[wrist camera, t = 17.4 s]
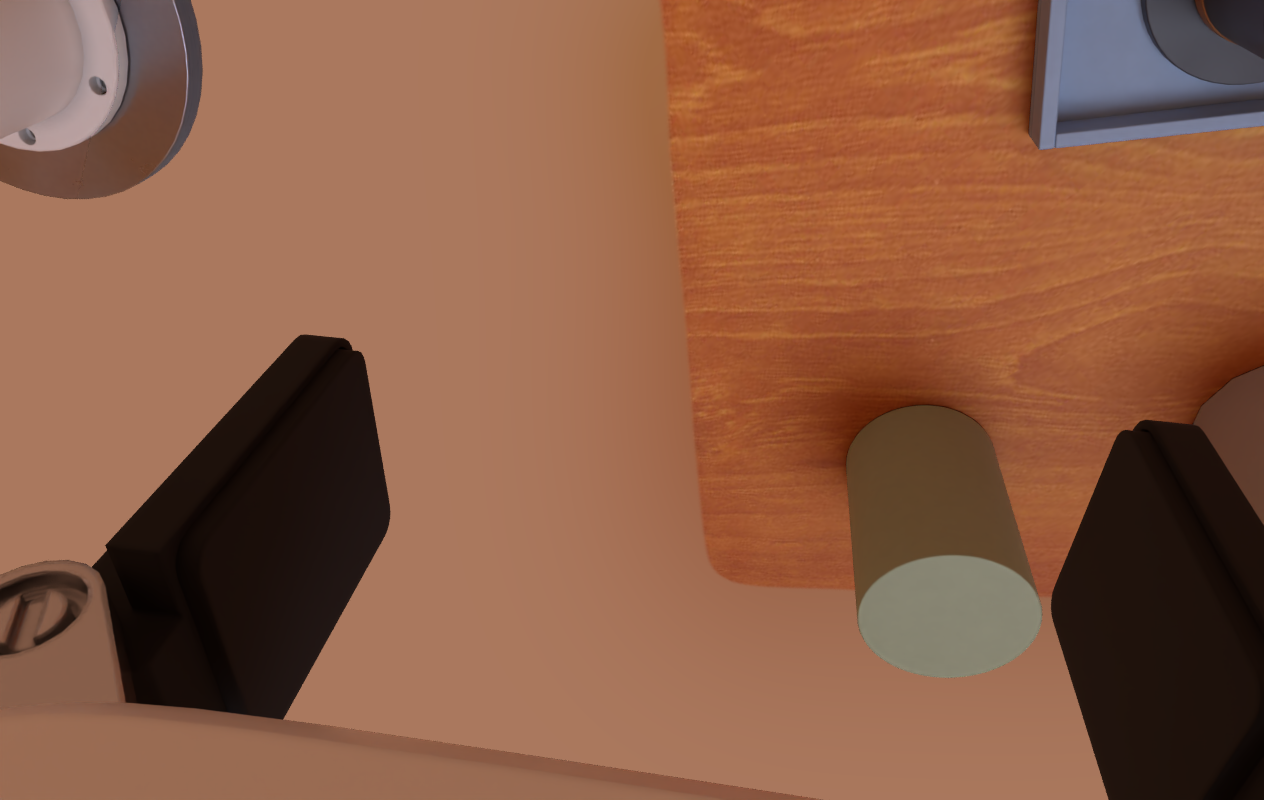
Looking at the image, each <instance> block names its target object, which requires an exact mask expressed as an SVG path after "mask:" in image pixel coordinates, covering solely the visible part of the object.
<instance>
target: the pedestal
mask: <svg viewBox="0 0 1264 800" xmlns="http://www.w3.org/2000/svg"><path fill="white" fill-rule="evenodd" d="M846 474H847V487H848V500H849V514H850V527H851V541H852V554H853V567H854V581H855V594H856V606H857V619H858V626H859V631H860V633H861V635H862V637H863V639H864V641H865V642H866V644H867V645H868V646H869V648H870V649H871V650H872V651H873V652H874V653H875V654H876V655H878V656H879V657H880V658H881V659H883V660H884V661H886V662H888V663H889V664H891V665H893V666H895V667H897V668H900V669H902V670H905V671H908V672H911V673H915V674H919V675H924V676H930V677H943V678H945V677H946V678H949V677H950V678H952V677H965V676H971V675H976V674H981V673H984V672H988V671H990V670H994V669H996V668H999V667H1001V666H1003V665H1005V664H1007V663H1009V662H1010V661H1012V660H1014V659H1015V658H1016V657H1018V656H1019V655H1020V654H1022V653H1023V652H1024V651H1025V650H1026V649H1027V648H1028V647H1029V646H1030V644H1031V643H1032V642H1033V640H1034V639H1035V637H1036V635H1037V634H1038V631H1039V629H1040V625H1041V622H1042V606H1041V603H1040V599H1039V596H1038V593H1037V589H1036V586H1035V583H1034V579H1033V576H1032V573H1031V569H1030V566H1029V563H1028V560H1027V556H1026V553H1025V550H1024V546H1023V543H1022V540H1021V536H1020V533H1019V530H1018V527H1017V523H1016V520H1015V517H1014V513H1013V510H1012V507H1011V503H1010V500H1009V497H1008V494H1007V490H1006V487H1005V484H1004V480H1003V477H1002V474H1001V470H1000V467H999V464H998V460H997V457H996V454H995V451H994V447H993V444H992V442H991V440H990V438H989V436H988V434H987V433H986V432H985V430H984V429H983V428H982V427H981V426H980V425H979V424H978V423H977V422H975V421H974V420H973V419H971V418H970V417H968V416H966V415H964V414H963V413H960V412H958V411H955V410H953V409H949V408H945V407H940V406H930V405H919V406H910V407H904V408H900V409H896V410H893V411H891V412H888V413H885V414H883V415H882V416H880V417H878V418H876V419H875V420H873V421H872V422H870V423H869V424H868V425H866V426H865V427H864V428H863V429H862V430H861V431H860V432H859V433H858V435H857V436H856V437H855V439H854V440H853V442H852V444H851V446H850V448H849V451H848V454H847V459H846Z"/></svg>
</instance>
